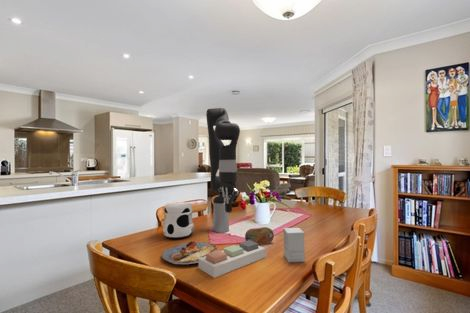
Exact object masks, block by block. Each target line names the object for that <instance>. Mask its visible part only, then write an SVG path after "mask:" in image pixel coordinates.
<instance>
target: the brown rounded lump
mask: <svg viewBox="0 0 470 313" xmlns="http://www.w3.org/2000/svg"><path fill="white" fill-rule="evenodd" d="M274 234H275V233H274V231H273V230H272V229H271V228H269V227H268V226H267V227H266V226H263V227H253V228H249V229H248V230H247V231H245V234H244V239H245V241H248V240H250V241H253V242H255V243H258V246H264V245H269V244H271V243H272V242H273V240H274V237H275V236H274Z"/></svg>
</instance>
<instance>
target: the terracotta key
mask: <svg viewBox="0 0 470 313" xmlns="http://www.w3.org/2000/svg"><path fill="white" fill-rule="evenodd" d="M221 251H222V250H219V249H217V251H213V252H210V253H207V254H206V260H208V261H210V262H211V263H213V264H216V263H219V262H222V261H225V260H227V254H225V253H223V252H221Z"/></svg>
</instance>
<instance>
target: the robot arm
mask: <svg viewBox="0 0 470 313" xmlns="http://www.w3.org/2000/svg"><path fill="white" fill-rule="evenodd" d="M205 115H206V116H205V117H206V125H207V132H208V134H207V135H208V152H209V153H208V154H209V162H210V163H209V164H210V165H209V166H210V189H211V191H213V192H217V193H218V195H217V196H215V197H214V198H213V214H212V230H213V231H214V233H220V234H221V233H227V232H229V231H230V217H229V216H230V213H232V212H233V203H235V202H236V201H237V199H238V197H239V196H240V194H241V191H240V190H238V189H237V185H236V183H237V181H238V165H237V145H238V142H239V141H238V140H239V137H240V134H241V133H240V132H241V129H240V126H239V125H238V124H237V123H235V122H233V123H232V122H231V121H230V119H229V115H228V111H227V110H226V108H223V107H216V108H215V107H214V108H208V109H207V110H206V114H205ZM214 127H215V128H214ZM223 141H230V143H229V144H226V145H225V144H224V142H223ZM217 173H218V175H217Z"/></svg>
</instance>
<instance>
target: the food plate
mask: <svg viewBox="0 0 470 313" xmlns="http://www.w3.org/2000/svg"><path fill="white" fill-rule="evenodd" d="M217 250H218V248H217V246H216V245H215V244H211V243H208V242H201V241H195V240H194V241H189V242H185V243H180V244H176V245H174V246H171V247H169V248H166V249H165V250H164V251H163V252H162V254H161V258H162V259H163V260H165V261H166V262H168V263H172V264H174V265H186V266H187V265H190V264H197V263H198V264H199V260H198V258H201V257H204V256H206V254H207V253H210V252H213V251H217Z"/></svg>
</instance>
